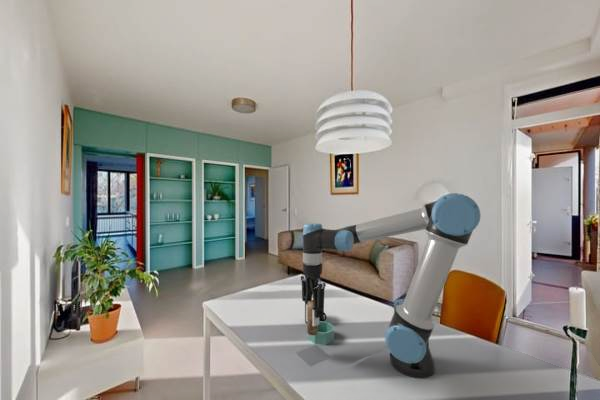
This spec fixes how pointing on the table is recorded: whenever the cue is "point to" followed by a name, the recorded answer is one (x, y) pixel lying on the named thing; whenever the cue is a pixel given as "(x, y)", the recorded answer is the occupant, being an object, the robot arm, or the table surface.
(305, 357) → the coaster
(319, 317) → the mug
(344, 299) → the table surface
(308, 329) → the dowel
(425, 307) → the robot arm
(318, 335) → the teal octagonal bowl
